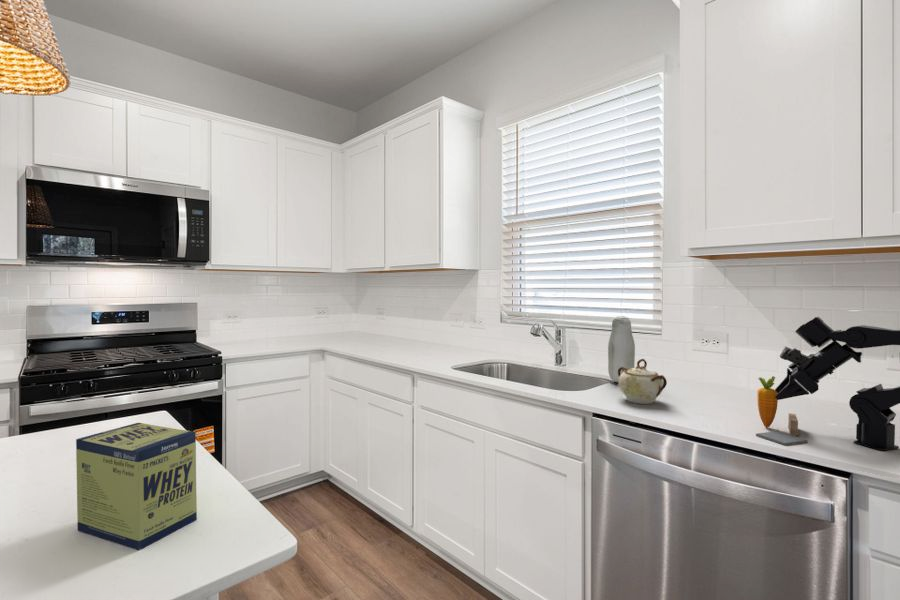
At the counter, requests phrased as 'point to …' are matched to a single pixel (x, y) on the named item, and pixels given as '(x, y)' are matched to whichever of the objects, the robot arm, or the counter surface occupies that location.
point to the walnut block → (793, 424)
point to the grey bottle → (620, 347)
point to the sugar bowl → (641, 384)
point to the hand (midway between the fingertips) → (775, 395)
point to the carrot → (767, 401)
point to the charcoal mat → (781, 438)
